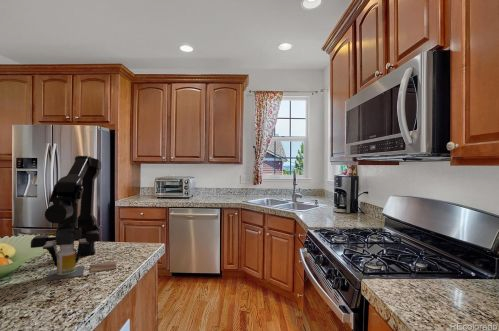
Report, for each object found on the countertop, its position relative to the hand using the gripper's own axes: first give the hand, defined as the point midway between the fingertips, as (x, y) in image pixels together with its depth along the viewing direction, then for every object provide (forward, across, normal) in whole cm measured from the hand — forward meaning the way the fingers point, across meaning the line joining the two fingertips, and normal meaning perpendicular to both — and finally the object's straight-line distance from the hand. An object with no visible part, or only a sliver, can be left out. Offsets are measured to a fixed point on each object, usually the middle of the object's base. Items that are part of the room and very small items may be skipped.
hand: (66, 264), depth 91 cm
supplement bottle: (+3, 0, 0) cm, 3 cm away
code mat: (+3, 0, 0) cm, 3 cm away
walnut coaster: (+3, +11, +1) cm, 11 cm away
